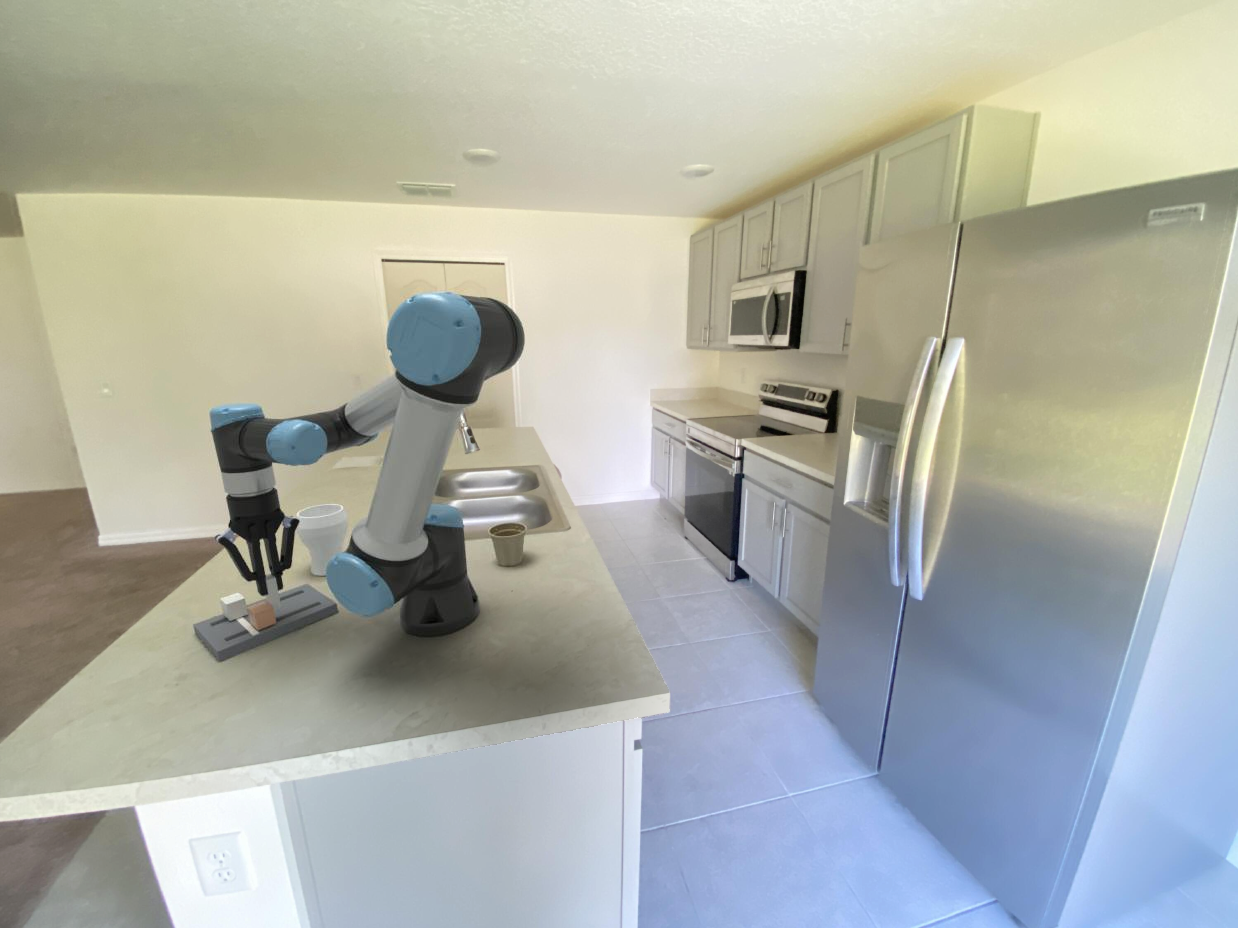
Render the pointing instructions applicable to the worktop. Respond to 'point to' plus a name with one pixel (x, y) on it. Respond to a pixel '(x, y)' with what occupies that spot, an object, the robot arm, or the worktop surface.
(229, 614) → the block
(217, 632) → the console
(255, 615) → the fader front
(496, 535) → the flower pot
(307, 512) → the cup
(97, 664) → the worktop surface
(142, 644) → the worktop surface
